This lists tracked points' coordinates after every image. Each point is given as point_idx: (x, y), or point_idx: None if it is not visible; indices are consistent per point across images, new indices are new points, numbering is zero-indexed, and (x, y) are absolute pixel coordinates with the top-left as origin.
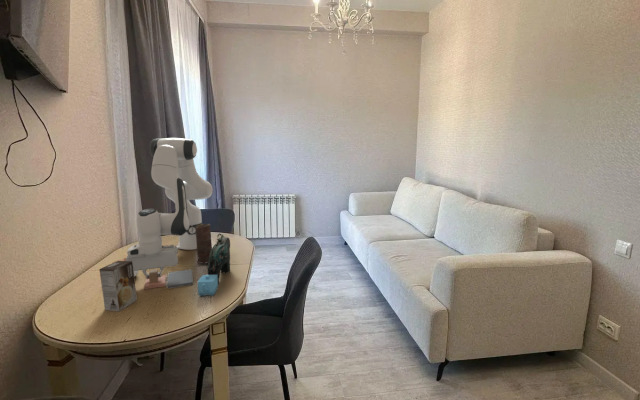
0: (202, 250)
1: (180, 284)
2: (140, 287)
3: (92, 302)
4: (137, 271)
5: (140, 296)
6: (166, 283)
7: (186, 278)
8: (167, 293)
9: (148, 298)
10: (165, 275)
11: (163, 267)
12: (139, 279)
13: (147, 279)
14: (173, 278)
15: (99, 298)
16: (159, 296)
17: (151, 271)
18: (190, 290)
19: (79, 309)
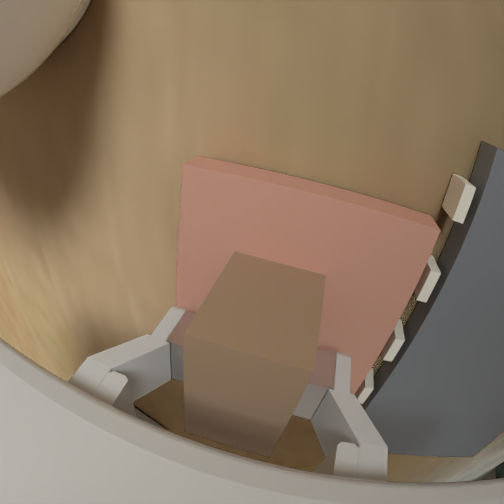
0: None
1: (413, 451)
2: (155, 303)
3: (6, 314)
4: (65, 3)
5: (177, 413)
6: (358, 392)
7: (496, 409)
8: (315, 460)
9: (219, 447)
10: (425, 246)
11: (378, 467)
12: (129, 78)
13: (195, 240)
14: (442, 370)
15: (7, 294)
16: (271, 460)
17: (207, 386)
18: (416, 475)
19: (3, 337)
